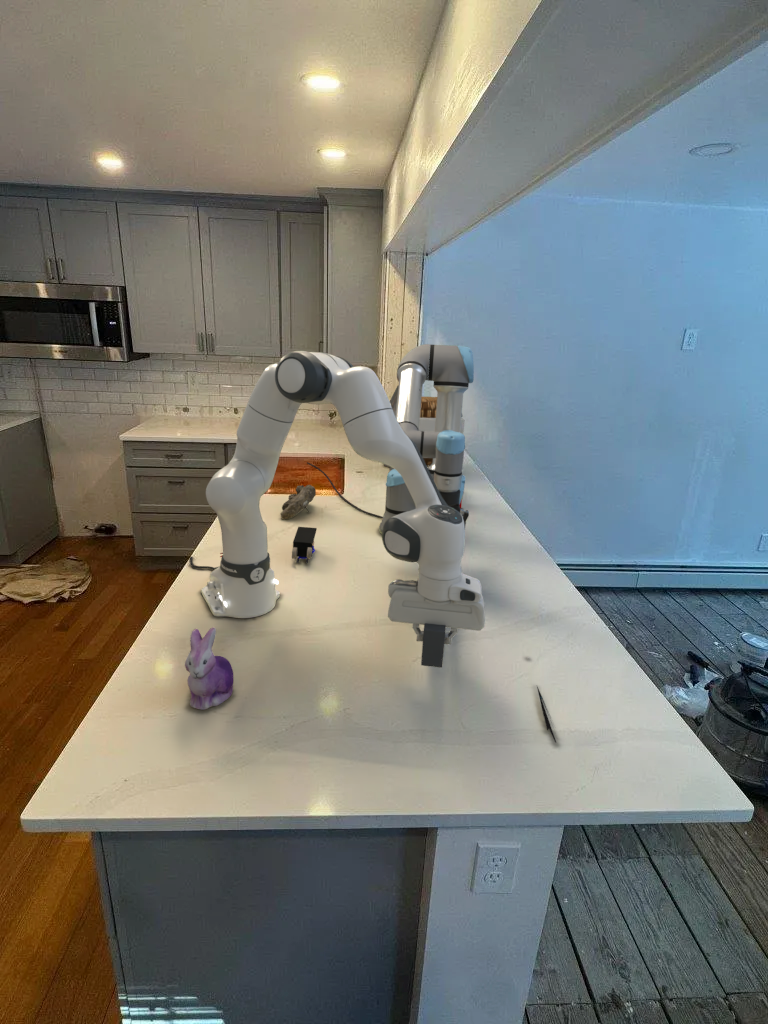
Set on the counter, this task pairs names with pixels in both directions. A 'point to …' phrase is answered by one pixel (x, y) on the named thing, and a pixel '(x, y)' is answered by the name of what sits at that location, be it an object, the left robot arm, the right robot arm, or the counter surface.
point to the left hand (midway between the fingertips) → (433, 641)
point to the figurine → (207, 672)
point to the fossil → (298, 501)
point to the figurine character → (304, 543)
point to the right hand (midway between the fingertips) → (440, 564)
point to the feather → (545, 714)
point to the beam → (433, 645)
